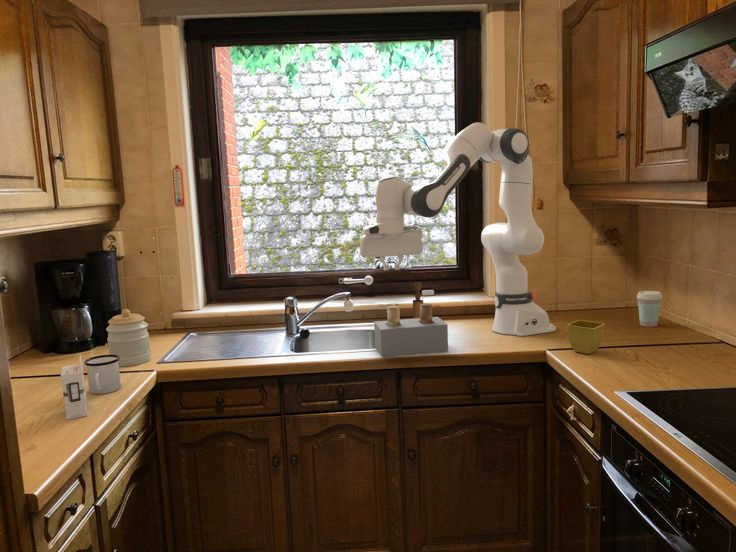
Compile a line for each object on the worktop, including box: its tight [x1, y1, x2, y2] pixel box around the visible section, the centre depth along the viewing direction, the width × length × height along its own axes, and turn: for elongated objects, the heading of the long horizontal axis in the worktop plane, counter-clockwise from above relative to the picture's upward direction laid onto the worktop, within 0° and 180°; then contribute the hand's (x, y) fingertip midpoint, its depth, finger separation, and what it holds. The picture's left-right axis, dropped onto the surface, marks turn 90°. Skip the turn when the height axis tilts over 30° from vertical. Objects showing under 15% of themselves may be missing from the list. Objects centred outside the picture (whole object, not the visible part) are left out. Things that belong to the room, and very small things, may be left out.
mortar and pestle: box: [412, 281, 424, 319], centre depth 230 cm, size 7×6×18 cm
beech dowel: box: [386, 305, 401, 326], centre depth 202 cm, size 4×4×9 cm
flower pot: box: [566, 319, 606, 355], centre depth 193 cm, size 9×9×9 cm
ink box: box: [60, 352, 88, 421], centre depth 157 cm, size 8×5×15 cm, turn 24°
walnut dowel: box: [420, 303, 433, 324], centre depth 204 cm, size 4×4×9 cm
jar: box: [105, 308, 152, 367], centre depth 203 cm, size 13×13×18 cm
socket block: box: [373, 316, 449, 358], centre depth 204 cm, size 22×12×9 cm, turn 99°
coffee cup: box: [636, 290, 663, 328], centre depth 223 cm, size 8×9×12 cm
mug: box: [83, 354, 122, 395], centre depth 174 cm, size 12×10×9 cm
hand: (391, 269), depth 200 cm, fingers open, 2 cm apart
